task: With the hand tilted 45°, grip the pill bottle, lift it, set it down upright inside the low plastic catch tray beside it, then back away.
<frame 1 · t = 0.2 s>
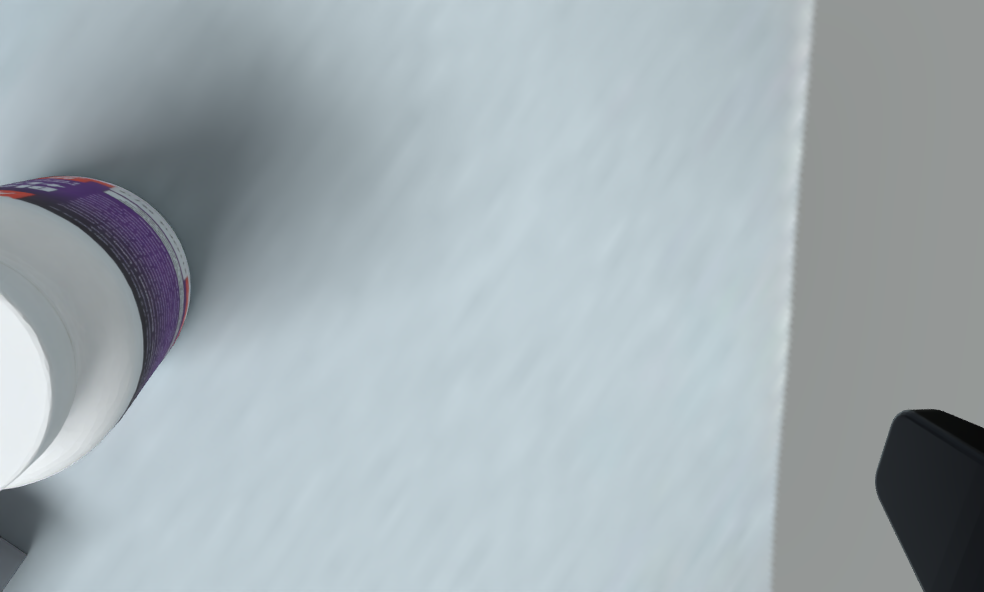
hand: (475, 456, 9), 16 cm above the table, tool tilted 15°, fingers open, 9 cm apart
pill bottle: (82, 281, 23), on the table
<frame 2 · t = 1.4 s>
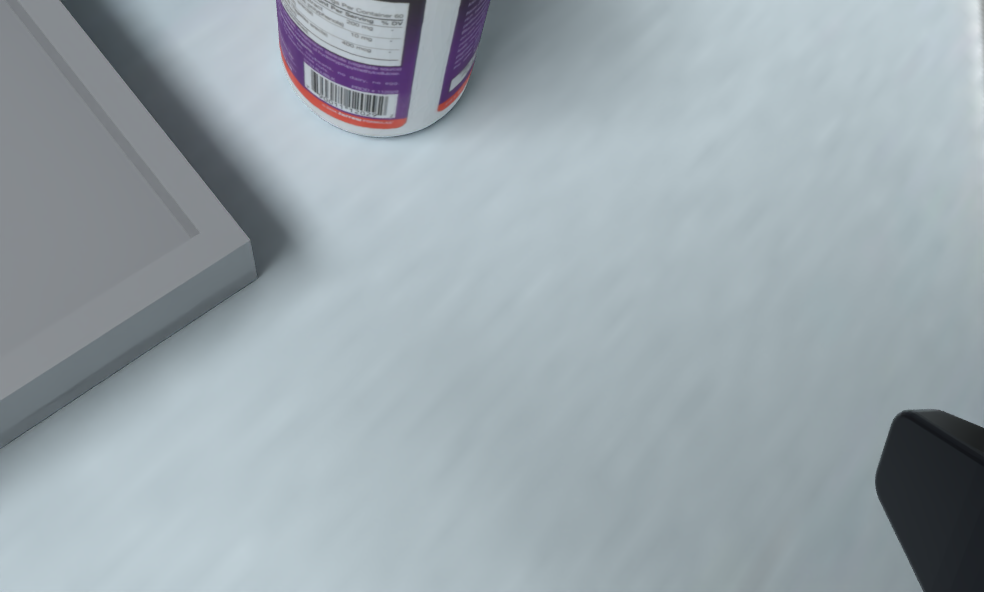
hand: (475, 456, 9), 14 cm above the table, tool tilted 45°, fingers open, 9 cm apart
pill bottle: (375, 63, 26), on the table
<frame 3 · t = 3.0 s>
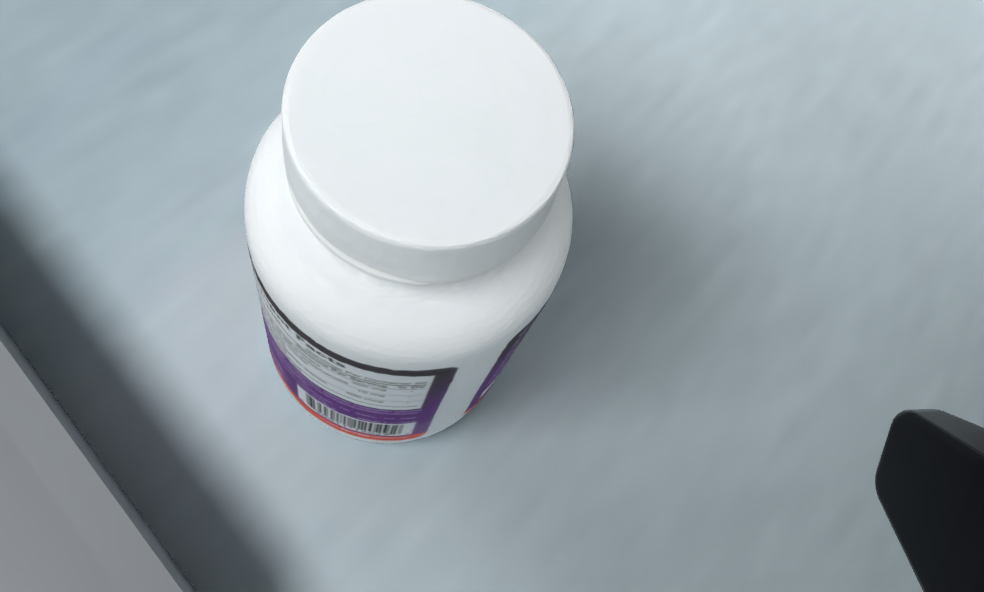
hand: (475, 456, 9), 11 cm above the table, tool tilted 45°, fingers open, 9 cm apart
pill bottle: (385, 335, 21), on the table
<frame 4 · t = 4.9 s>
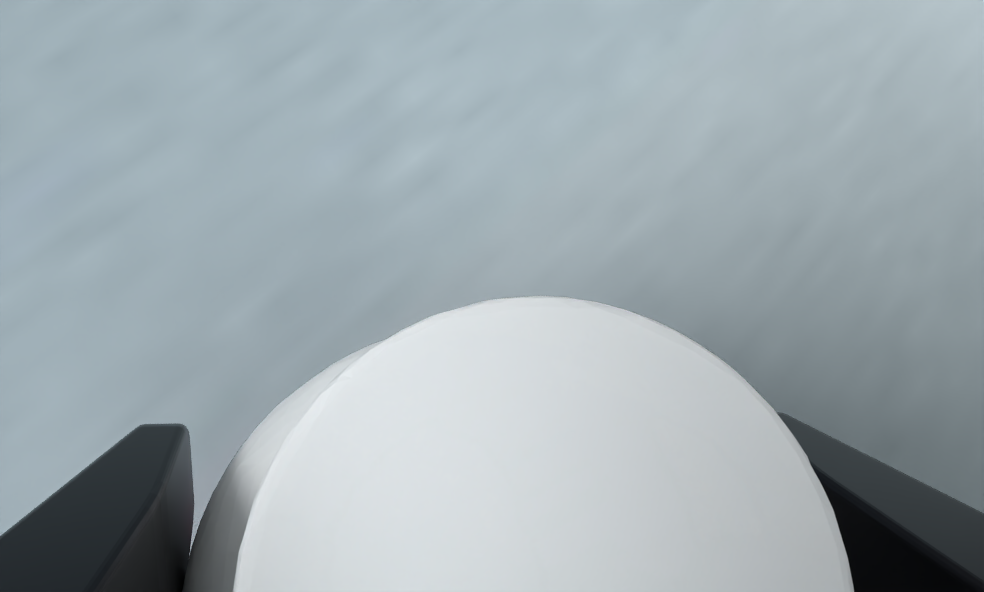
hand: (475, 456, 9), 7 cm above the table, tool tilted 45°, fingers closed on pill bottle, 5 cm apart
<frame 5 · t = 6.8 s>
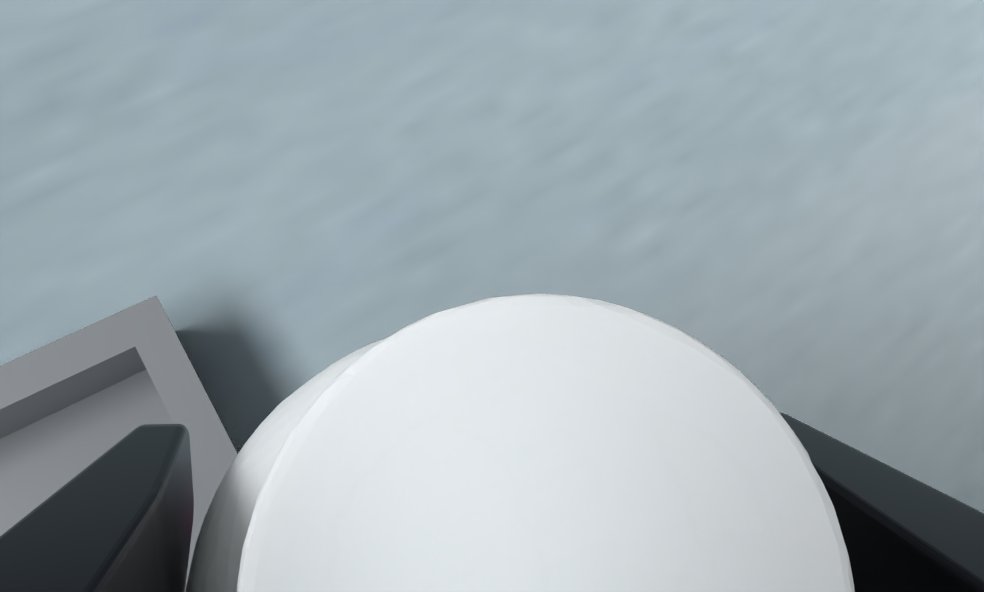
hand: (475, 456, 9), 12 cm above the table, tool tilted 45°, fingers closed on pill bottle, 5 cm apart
when the fingers open (9 cm above the table, at t = 8.8 s): pill bottle drops 1 cm, resting on catch tray.
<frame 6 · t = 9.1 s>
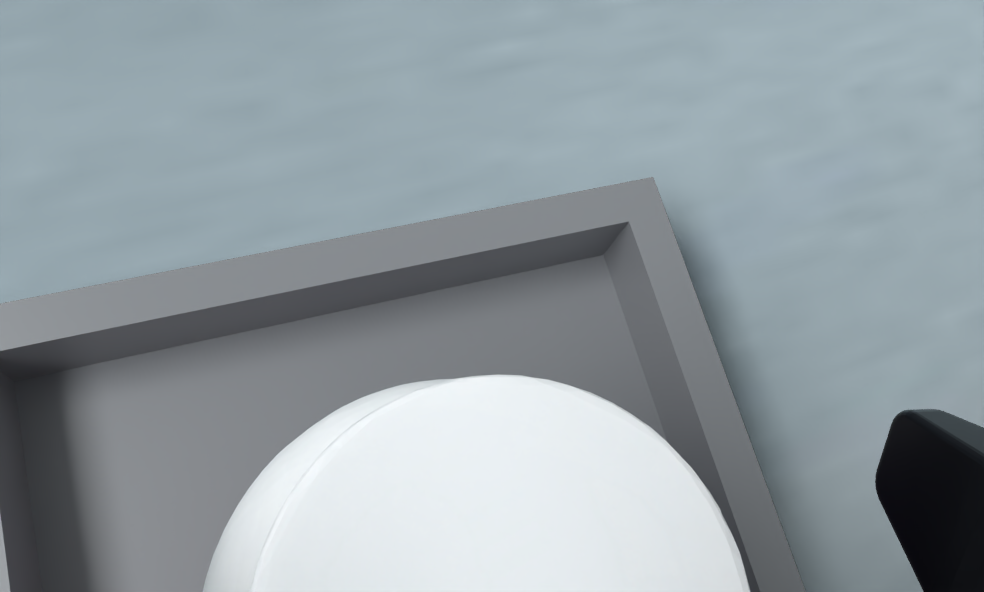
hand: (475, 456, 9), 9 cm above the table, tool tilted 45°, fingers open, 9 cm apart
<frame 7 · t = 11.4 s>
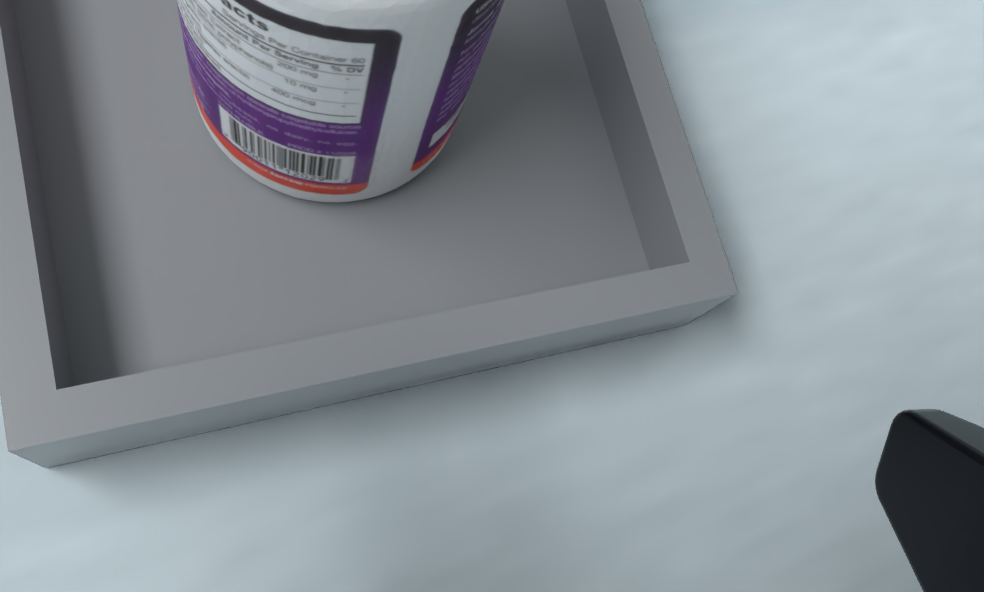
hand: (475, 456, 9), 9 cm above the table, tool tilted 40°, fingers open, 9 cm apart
catch tray: (327, 98, 20), on the table
pill bottle: (327, 93, 19), point 1 cm above the table, touching catch tray
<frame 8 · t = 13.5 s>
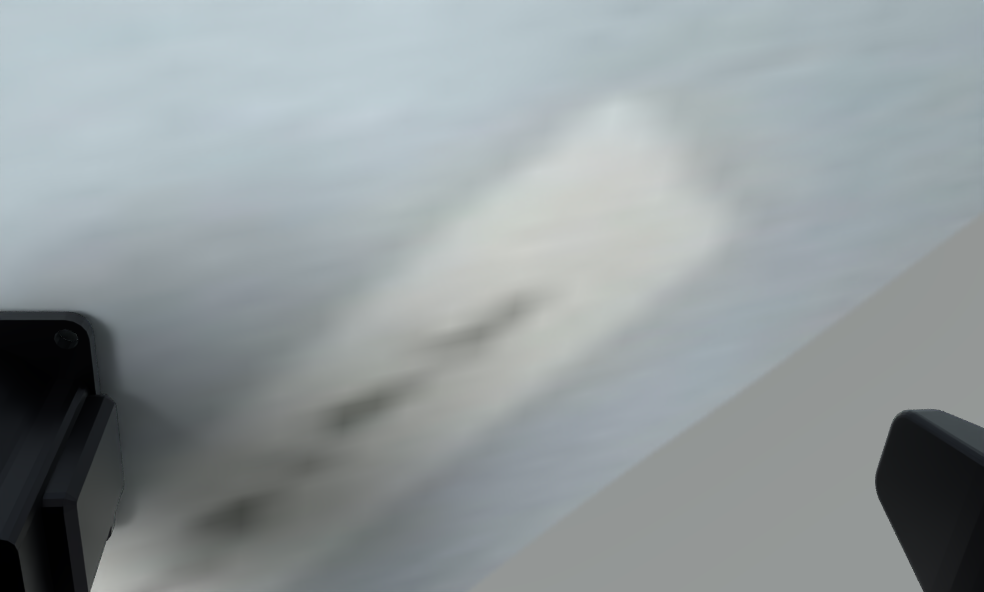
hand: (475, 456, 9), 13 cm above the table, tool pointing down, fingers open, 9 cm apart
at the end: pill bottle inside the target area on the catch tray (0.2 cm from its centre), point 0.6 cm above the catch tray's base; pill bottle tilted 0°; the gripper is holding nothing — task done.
